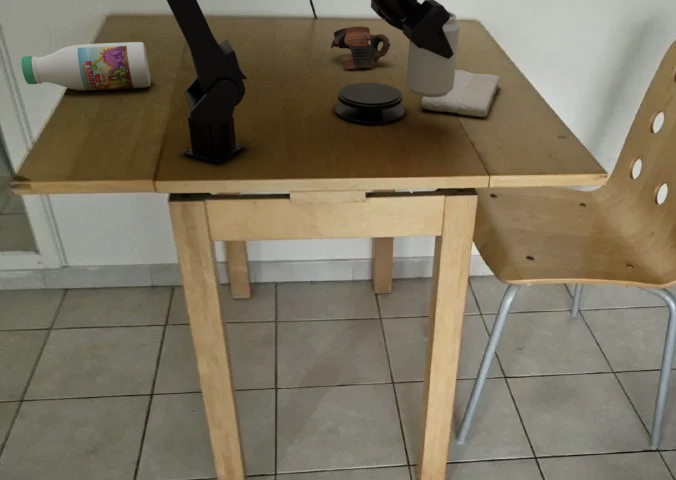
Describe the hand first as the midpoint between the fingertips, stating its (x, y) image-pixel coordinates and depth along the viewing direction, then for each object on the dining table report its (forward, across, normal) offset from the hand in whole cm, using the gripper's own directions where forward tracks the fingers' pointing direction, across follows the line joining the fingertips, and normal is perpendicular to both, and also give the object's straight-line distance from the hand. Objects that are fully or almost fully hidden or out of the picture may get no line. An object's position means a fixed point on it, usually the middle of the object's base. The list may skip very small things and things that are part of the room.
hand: (441, 48), depth 110 cm
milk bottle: (-23, +31, +37) cm, 53 cm away
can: (+4, 0, +6) cm, 7 cm away
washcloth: (+17, +12, +2) cm, 21 cm away
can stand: (+4, +10, +15) cm, 18 cm away
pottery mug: (+8, +35, +10) cm, 38 cm away
